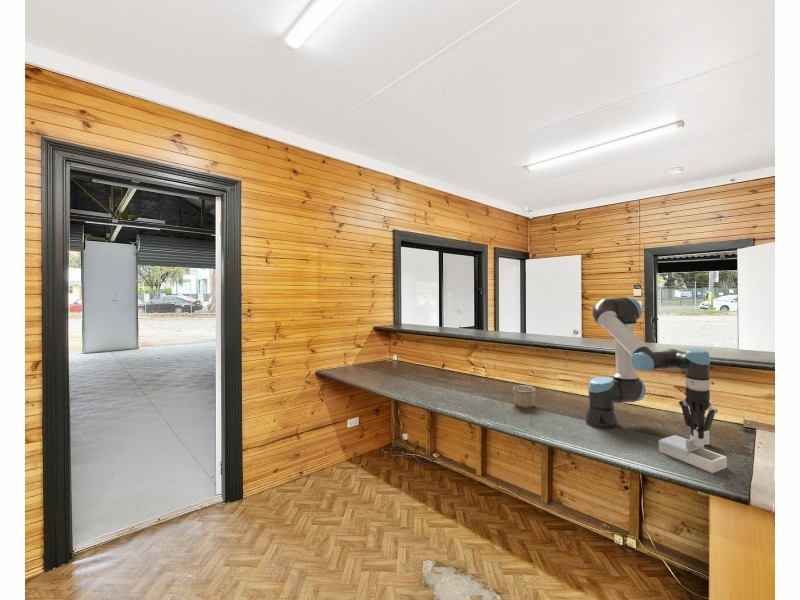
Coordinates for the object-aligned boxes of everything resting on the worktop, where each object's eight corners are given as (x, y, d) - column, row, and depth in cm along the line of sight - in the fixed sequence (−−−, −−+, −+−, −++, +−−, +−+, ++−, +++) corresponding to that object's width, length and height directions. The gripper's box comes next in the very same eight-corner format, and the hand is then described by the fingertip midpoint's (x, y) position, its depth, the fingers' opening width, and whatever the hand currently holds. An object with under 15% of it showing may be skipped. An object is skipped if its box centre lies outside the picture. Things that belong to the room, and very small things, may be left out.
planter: (513, 408, 218) (512, 391, 217) (513, 401, 230) (513, 384, 229) (535, 409, 214) (535, 392, 213) (535, 402, 226) (534, 385, 225)
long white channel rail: (659, 451, 160) (659, 441, 159) (672, 446, 163) (672, 437, 163) (712, 473, 141) (712, 462, 141) (726, 467, 144) (726, 456, 144)
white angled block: (718, 438, 163) (709, 422, 163) (699, 450, 163) (690, 434, 163) (711, 434, 167) (702, 419, 166) (693, 446, 167) (683, 431, 166)
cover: (658, 445, 158) (658, 431, 158) (675, 439, 163) (675, 426, 162) (686, 456, 148) (686, 442, 148) (704, 449, 152) (704, 436, 152)
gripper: (674, 385, 153) (674, 440, 154) (710, 394, 140) (710, 454, 142) (685, 382, 155) (685, 437, 157) (722, 391, 143) (722, 449, 145)
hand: (697, 445), depth 149 cm, fingers closed
